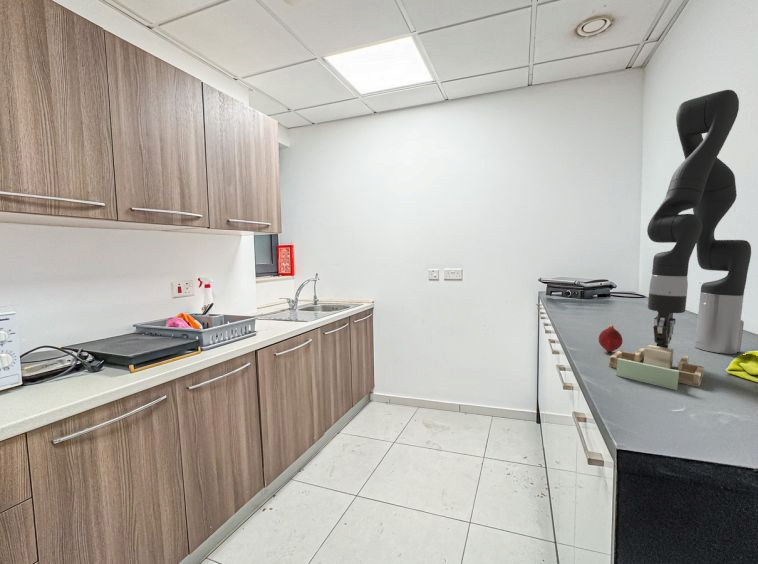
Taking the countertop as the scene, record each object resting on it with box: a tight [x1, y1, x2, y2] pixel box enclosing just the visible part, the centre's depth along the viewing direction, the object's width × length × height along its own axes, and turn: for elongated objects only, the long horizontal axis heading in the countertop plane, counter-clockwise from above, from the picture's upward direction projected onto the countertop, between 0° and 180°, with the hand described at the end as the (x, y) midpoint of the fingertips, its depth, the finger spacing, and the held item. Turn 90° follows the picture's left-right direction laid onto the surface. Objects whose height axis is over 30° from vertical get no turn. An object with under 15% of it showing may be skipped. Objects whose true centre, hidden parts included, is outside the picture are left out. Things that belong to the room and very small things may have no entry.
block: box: [643, 344, 675, 369], centre depth 87 cm, size 5×5×5 cm
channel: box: [608, 347, 705, 388], centre depth 86 cm, size 22×17×2 cm
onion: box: [598, 324, 624, 353], centre depth 100 cm, size 6×6×8 cm
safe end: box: [615, 358, 679, 391], centre depth 78 cm, size 1×11×4 cm, turn 43°
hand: (661, 357), depth 91 cm, fingers closed
